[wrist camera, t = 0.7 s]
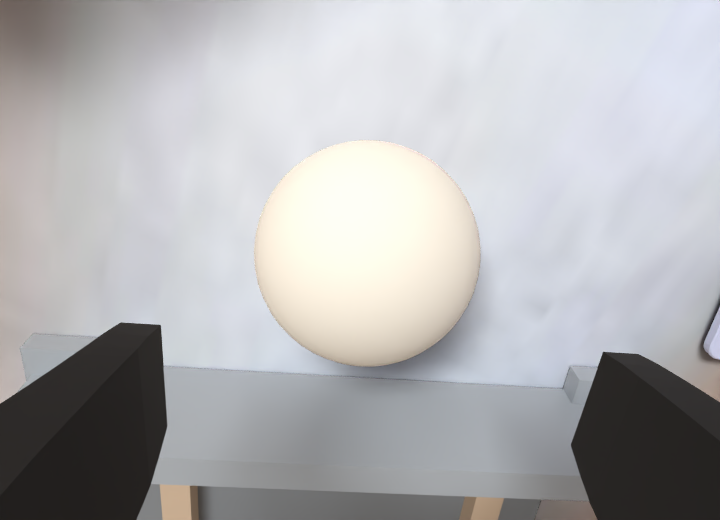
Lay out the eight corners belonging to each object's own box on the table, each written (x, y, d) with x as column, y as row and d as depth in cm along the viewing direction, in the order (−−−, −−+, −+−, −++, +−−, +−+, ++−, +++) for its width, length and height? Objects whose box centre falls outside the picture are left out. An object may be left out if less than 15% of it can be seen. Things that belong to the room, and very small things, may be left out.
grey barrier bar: (636, 369, 19) (705, 455, 16) (610, 434, 21) (669, 528, 17) (32, 333, 18) (-46, 420, 14) (46, 406, 19) (-22, 502, 15)
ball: (471, 128, 15) (537, 193, 10) (439, 301, 18) (480, 422, 13) (270, 109, 15) (236, 167, 10) (265, 289, 17) (235, 409, 12)
